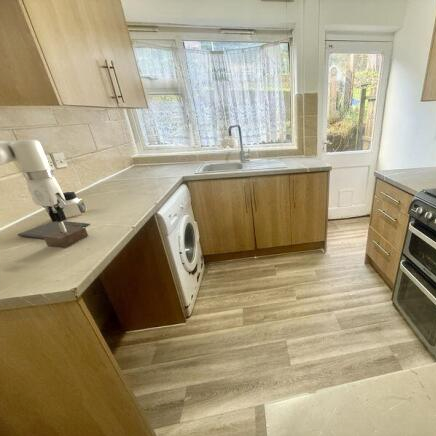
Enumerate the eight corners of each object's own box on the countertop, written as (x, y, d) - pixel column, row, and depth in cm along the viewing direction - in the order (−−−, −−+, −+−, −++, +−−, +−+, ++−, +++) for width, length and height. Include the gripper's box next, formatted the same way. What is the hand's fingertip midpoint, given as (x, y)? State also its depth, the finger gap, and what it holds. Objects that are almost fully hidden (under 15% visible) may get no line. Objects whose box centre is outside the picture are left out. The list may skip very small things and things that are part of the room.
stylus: (68, 242, 100) (53, 208, 94) (65, 242, 100) (50, 208, 94) (72, 240, 101) (57, 207, 95) (69, 240, 101) (54, 206, 95)
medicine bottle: (82, 215, 126) (72, 193, 120) (65, 218, 123) (54, 196, 118) (87, 210, 132) (77, 189, 127) (71, 213, 129) (61, 191, 124)
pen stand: (65, 248, 95) (61, 238, 93) (47, 246, 97) (42, 236, 95) (89, 237, 103) (85, 227, 102) (71, 235, 106) (67, 225, 104)
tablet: (56, 240, 101) (55, 238, 101) (18, 235, 106) (17, 233, 106) (91, 225, 115) (90, 223, 114) (55, 221, 119) (55, 220, 119)
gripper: (11, 176, 88) (34, 223, 95) (43, 178, 84) (64, 226, 91) (35, 172, 94) (55, 215, 102) (66, 173, 91) (84, 218, 98)
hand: (59, 220), depth 97 cm, fingers closed
